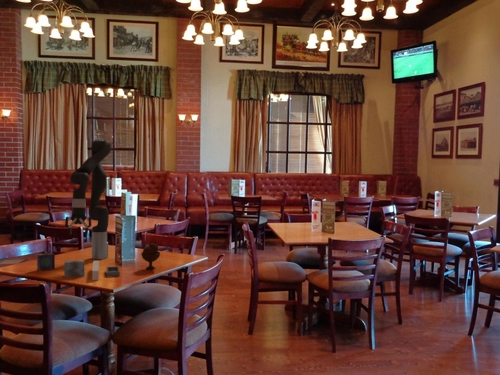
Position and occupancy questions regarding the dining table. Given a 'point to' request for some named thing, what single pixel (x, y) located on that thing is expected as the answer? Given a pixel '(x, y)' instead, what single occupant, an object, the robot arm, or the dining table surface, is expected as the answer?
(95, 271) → the door board
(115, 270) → the cradle
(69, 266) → the block
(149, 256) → the ice cream bowl
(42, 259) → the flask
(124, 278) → the dining table surface
